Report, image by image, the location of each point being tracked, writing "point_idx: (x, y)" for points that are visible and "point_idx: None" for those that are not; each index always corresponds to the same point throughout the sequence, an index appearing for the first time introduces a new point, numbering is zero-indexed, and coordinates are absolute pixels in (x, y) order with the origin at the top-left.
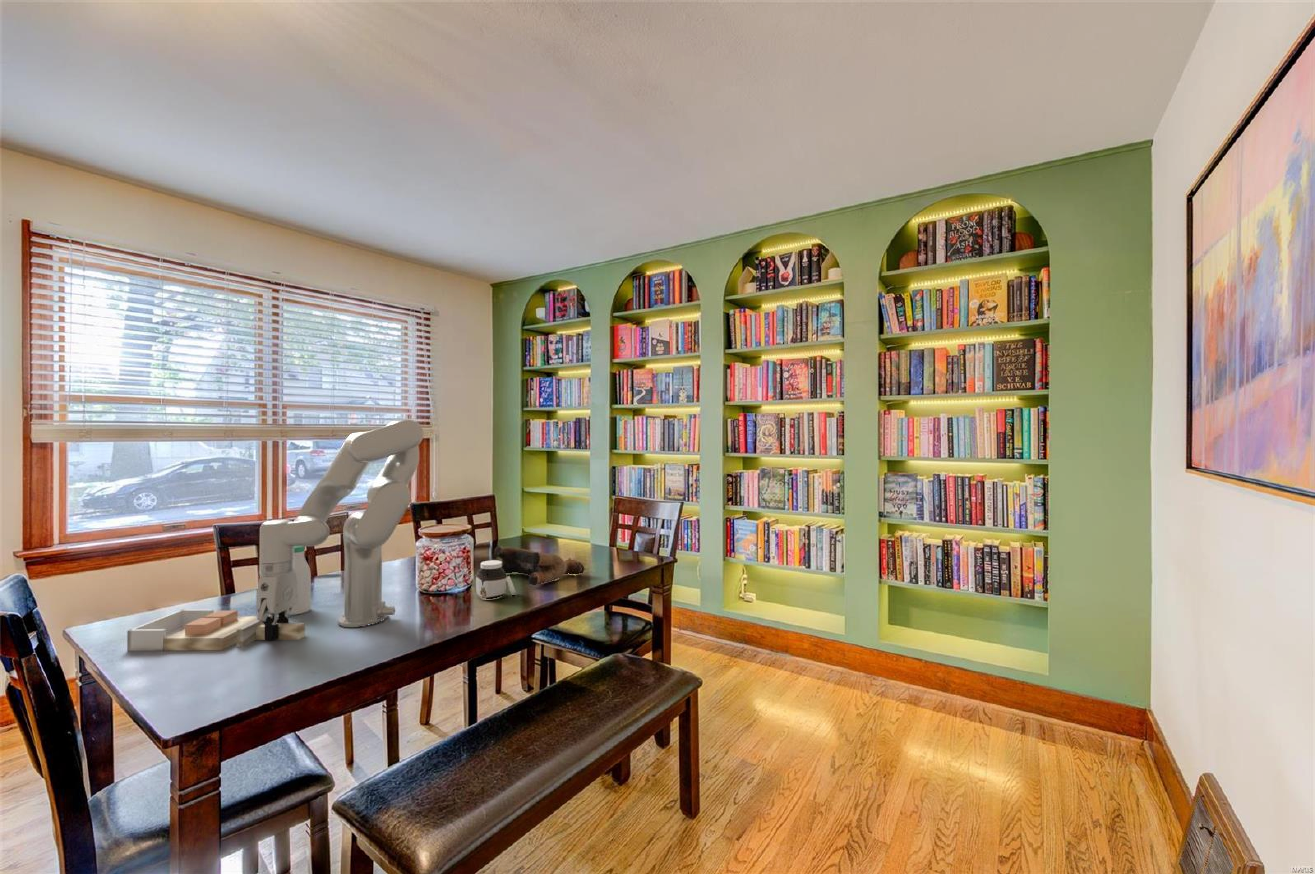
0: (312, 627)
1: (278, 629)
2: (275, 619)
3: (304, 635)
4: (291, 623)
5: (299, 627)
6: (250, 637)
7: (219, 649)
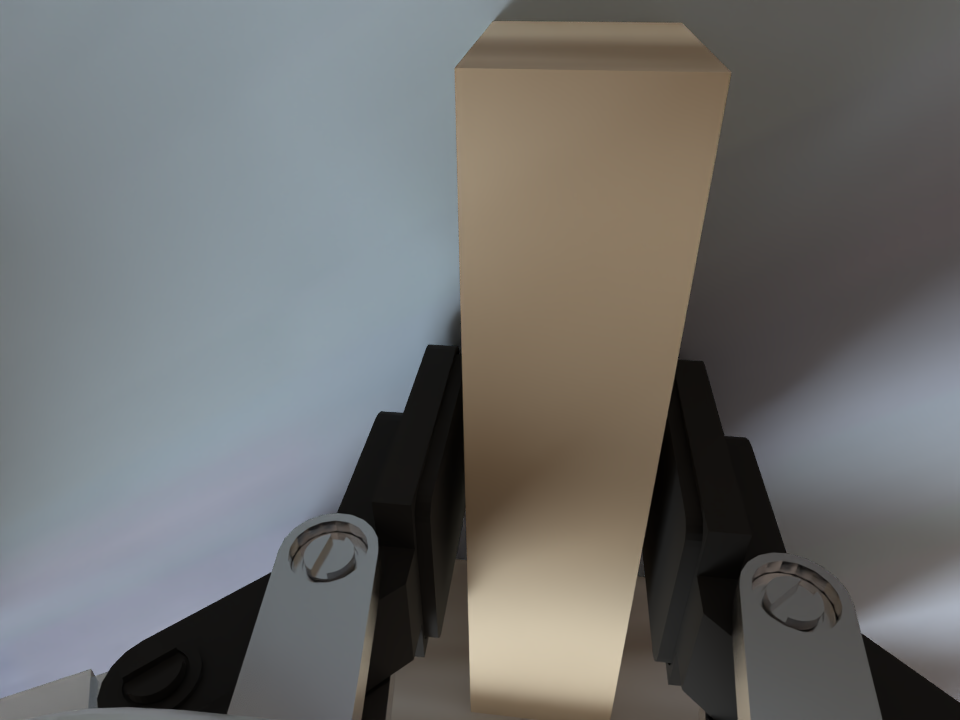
0: (104, 130)
1: (693, 449)
2: (807, 663)
3: (505, 21)
4: (489, 363)
5: (710, 62)
6: None
7: None
